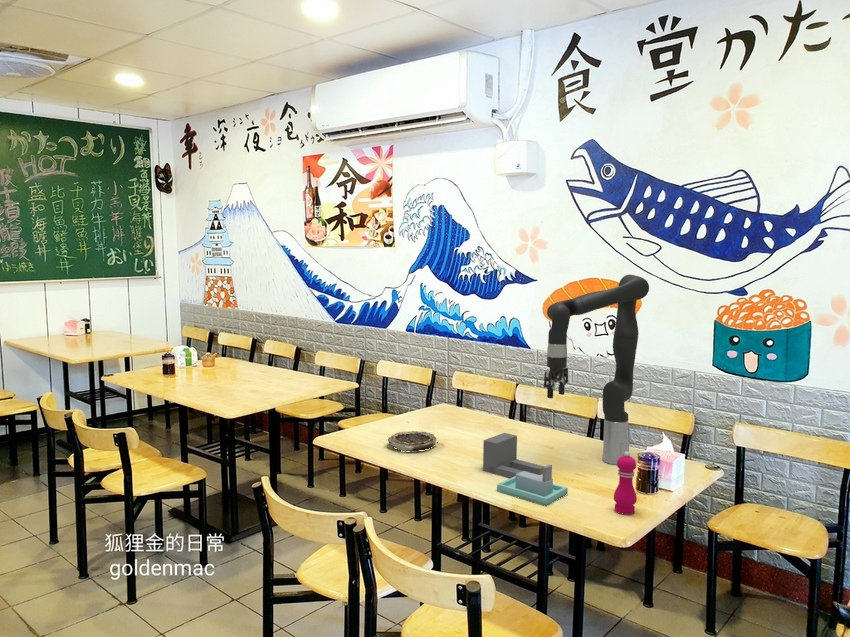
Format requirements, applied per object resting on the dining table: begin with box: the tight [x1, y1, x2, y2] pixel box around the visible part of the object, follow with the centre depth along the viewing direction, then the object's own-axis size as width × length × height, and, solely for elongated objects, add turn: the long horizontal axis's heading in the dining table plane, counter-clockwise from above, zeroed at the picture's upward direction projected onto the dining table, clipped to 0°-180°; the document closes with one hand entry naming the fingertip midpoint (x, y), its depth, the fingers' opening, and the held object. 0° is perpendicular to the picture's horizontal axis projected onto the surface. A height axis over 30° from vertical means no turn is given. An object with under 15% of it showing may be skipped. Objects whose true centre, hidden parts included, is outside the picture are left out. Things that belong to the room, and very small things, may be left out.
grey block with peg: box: [515, 464, 554, 497], centre depth 229 cm, size 12×5×10 cm, turn 48°
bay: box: [482, 432, 545, 479], centre depth 251 cm, size 19×14×12 cm
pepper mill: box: [613, 451, 638, 515], centre depth 214 cm, size 7×7×20 cm
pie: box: [387, 430, 438, 451], centre depth 283 cm, size 28×27×5 cm
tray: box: [496, 476, 569, 507], centre depth 230 cm, size 20×14×2 cm
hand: (555, 396), depth 255 cm, fingers open, 8 cm apart
